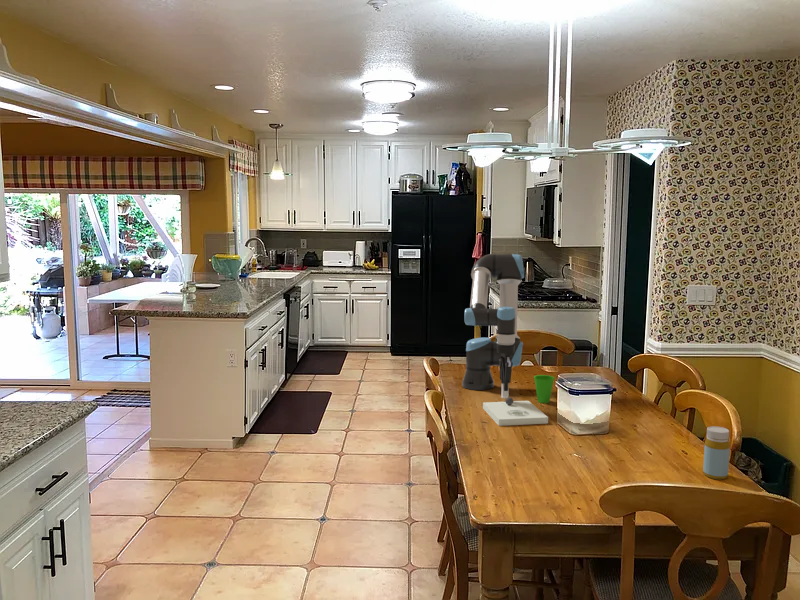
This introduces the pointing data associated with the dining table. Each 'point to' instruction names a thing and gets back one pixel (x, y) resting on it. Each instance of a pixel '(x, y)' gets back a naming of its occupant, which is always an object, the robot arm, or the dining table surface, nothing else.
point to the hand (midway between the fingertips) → (504, 397)
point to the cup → (543, 387)
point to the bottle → (716, 453)
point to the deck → (515, 413)
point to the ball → (509, 400)
